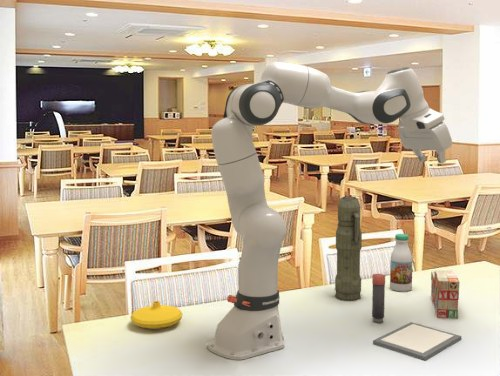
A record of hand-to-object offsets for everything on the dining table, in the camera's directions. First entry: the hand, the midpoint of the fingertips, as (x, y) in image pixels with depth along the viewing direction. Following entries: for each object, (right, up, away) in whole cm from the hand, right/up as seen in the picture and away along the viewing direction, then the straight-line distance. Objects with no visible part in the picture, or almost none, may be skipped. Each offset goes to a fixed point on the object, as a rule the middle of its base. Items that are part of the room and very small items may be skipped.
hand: (432, 161), depth 179 cm
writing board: (-8, -51, -11) cm, 53 cm away
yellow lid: (-83, -50, +4) cm, 97 cm away
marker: (-15, -49, +5) cm, 52 cm away
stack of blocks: (+9, -47, +17) cm, 51 cm away
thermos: (-21, -46, +29) cm, 58 cm away
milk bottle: (0, -45, +38) cm, 58 cm away
